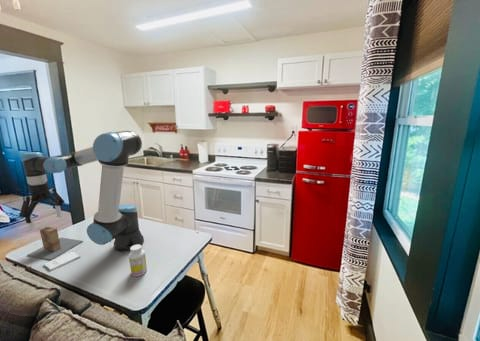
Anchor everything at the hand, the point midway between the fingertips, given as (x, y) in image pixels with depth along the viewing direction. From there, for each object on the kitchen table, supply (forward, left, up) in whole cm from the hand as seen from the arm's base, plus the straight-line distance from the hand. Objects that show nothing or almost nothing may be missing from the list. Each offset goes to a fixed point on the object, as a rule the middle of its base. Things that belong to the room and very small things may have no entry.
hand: (46, 222), depth 120 cm
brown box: (0, 0, -16) cm, 16 cm away
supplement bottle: (-57, +4, -17) cm, 60 cm away
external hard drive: (-14, +6, -17) cm, 23 cm away
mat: (0, -2, -17) cm, 17 cm away
